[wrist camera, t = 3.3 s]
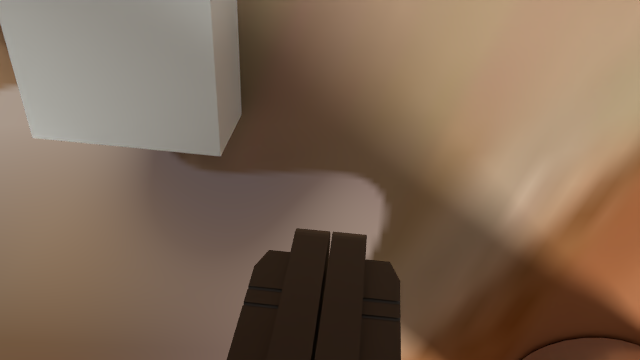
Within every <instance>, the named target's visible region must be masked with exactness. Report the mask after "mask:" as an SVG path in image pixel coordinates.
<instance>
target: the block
mask: <svg viewBox="0 0 640 360" xmlns="http://www.w3.org/2000/svg"><path fill="white" fill-rule="evenodd" d="M0 24H1V27H2V31H3V35H4V38H5V42H6V45H7V49H8V52H9V56H10V60H11V63H12V67H13V70H14V74H15V77H16V81H17V85H18V88H19V92H20V95H21V99H22V102H23V105H24V110H25V113H26V117H27V120H28V123H29V127H30V131H31V134H32V137H33V138H38V139H50V140H60V141H69V142H80V143H89V144H99V145H110V146H120V147H130V148H140V149H150V150H161V151H171V152H181V153H191V154H201V155H211V156H221V155H222V153H223V151H224V149H225V147H226V145H227V143H228V141H229V139H230V137H231V135H232V133H233V131H234V129H235V127H236V125H237V123H238V121H239V119H240V117H241V115H242V109H241V84H240V60H239V36H238V11H237V0H0Z"/></svg>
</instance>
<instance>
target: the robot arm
mask: <svg viewBox="0 0 640 360" xmlns="http://www.w3.org/2000/svg"><path fill="white" fill-rule="evenodd" d="M366 239H367V236H366V235H360V234H350V233H340V232H333V234H332V241H331V248H330V255H329V247H330V232H328V231H317V230H308V229H296V231H295V235H294V239H293V244H292V248H291V252H283V251H273V250H269V251H268V252H267V253H266V254H265V255H264V256H263V258H261V260H260V261H259V262H258V263H257V264H256V265H255V266H254V269H253V273H252V276H251V279H250V283H249V288H248V290H247V293H246V297H245V300H244V305H243V306H242V310H241V313H240V317H239V320H238V323H237V327H236V330H235V333H234V337H233V340H232V344H231V348H230V350H229V354H228V357H227V360H401V332H400V280H399V278H398V276H397V275H396V273H395V271H394V269H393V267H392V265H391V264H390V262H384V261H374V260H365V255H366ZM522 360H640V346H639V345H636V344H633V343H629V342H626V341H622V340H616V339H608V338H580V339H573V340H566V341H562V342H559V343H555V344H552V345H548V346H546V347H543V348H541V349H539V350H537V351H535V352H533V353H531V354H530V355H528V356H527V357H525V358H524V359H522Z"/></svg>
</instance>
